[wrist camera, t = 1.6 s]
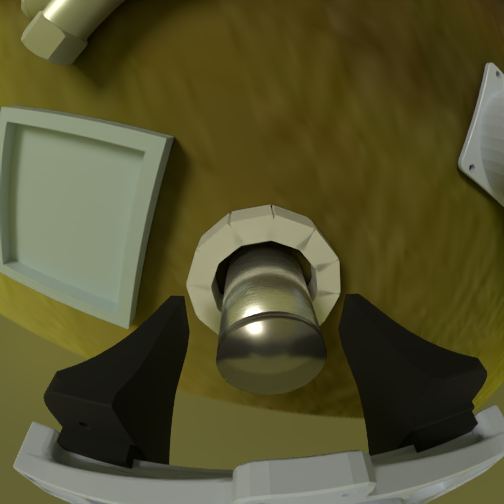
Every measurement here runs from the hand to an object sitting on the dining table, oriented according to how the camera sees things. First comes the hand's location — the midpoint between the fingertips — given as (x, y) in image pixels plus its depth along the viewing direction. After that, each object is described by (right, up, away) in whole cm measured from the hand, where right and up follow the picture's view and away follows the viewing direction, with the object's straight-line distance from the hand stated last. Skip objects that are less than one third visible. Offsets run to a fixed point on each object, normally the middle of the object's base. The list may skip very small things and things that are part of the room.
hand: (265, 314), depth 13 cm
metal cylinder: (0, +2, +3) cm, 4 cm away
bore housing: (0, +2, +3) cm, 4 cm away
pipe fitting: (-9, +17, -4) cm, 20 cm away
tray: (-11, +5, +1) cm, 12 cm away
